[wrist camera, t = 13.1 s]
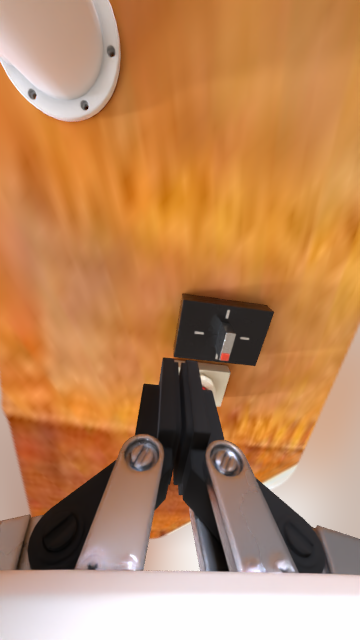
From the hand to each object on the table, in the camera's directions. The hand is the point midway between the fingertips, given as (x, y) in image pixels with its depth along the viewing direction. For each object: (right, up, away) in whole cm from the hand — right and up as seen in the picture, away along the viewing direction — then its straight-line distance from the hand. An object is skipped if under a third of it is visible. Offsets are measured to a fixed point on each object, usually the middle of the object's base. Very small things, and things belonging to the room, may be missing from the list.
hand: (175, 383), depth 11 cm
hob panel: (+7, +2, +27) cm, 28 cm away
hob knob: (+7, +1, +24) cm, 25 cm away
